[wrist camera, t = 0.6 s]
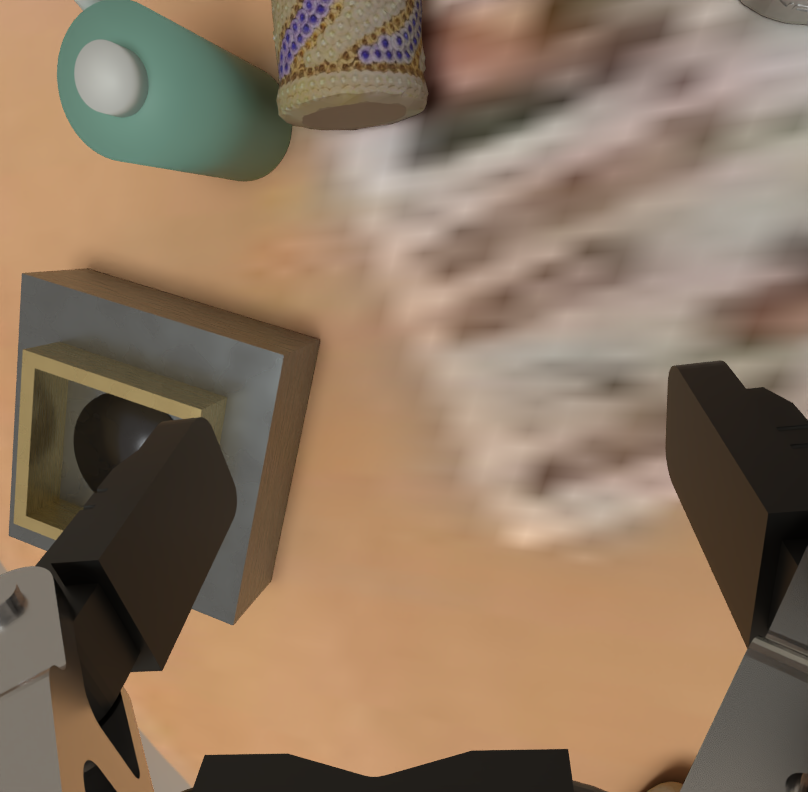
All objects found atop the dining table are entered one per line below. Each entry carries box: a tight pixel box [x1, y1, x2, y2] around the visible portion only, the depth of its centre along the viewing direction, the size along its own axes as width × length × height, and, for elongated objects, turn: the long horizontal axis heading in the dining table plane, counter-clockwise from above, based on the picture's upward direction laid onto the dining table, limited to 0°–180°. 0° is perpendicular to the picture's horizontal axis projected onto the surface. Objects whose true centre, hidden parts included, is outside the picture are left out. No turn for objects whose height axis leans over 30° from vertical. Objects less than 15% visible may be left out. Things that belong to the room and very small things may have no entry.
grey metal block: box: [9, 269, 320, 625], centre depth 37 cm, size 21×16×8 cm
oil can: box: [57, 0, 292, 181], centre depth 29 cm, size 9×6×12 cm
